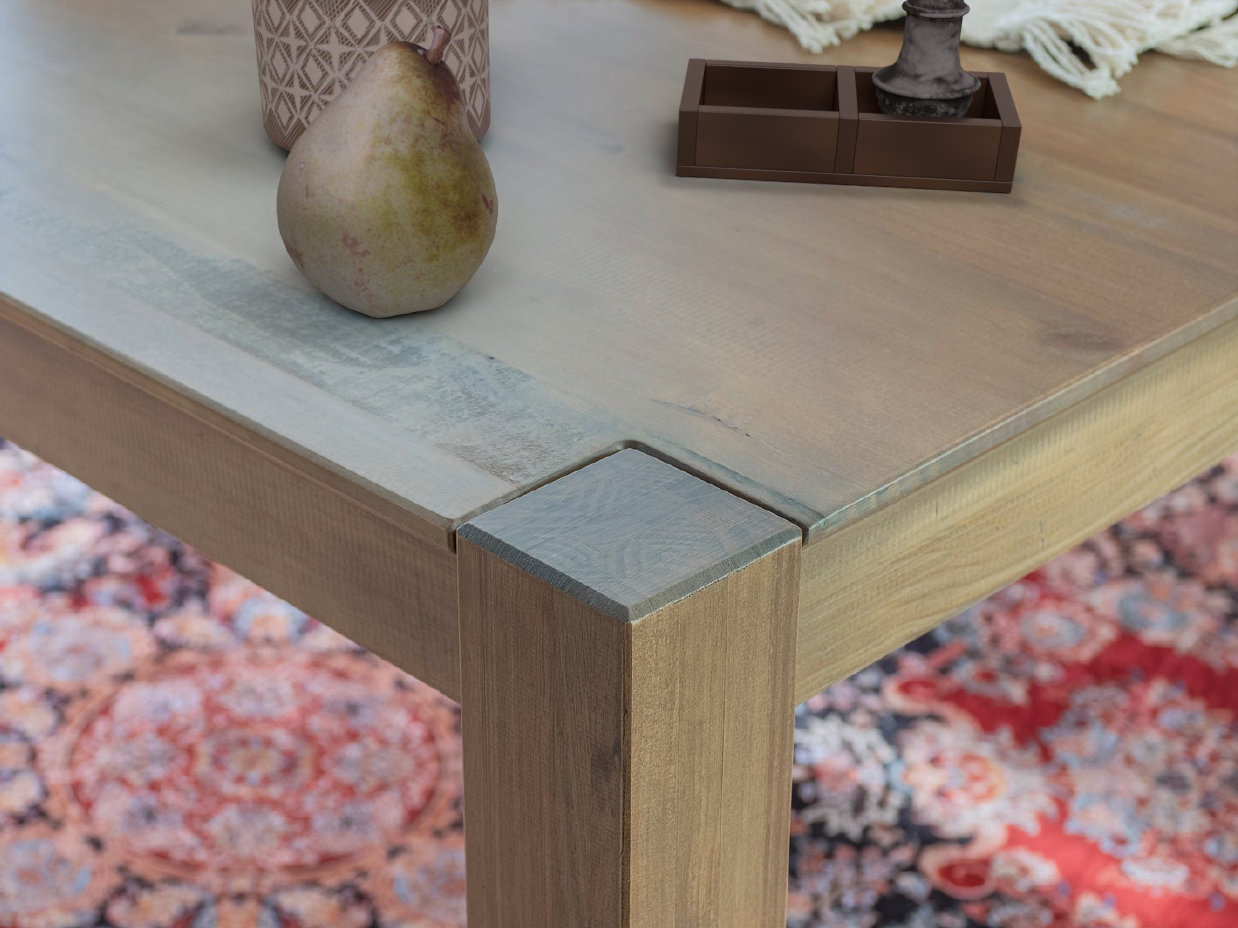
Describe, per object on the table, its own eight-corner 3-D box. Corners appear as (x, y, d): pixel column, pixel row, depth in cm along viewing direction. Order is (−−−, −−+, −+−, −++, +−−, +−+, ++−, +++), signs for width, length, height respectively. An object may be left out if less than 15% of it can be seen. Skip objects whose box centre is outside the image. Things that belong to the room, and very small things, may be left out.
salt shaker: (993, 149, 92) (1030, -82, 85) (915, 169, 89) (947, -68, 82) (919, 120, 96) (948, -103, 89) (843, 138, 93) (867, -91, 86)
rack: (994, 135, 96) (1004, 72, 94) (1011, 193, 89) (1022, 126, 87) (685, 120, 98) (688, 58, 96) (675, 176, 90) (678, 109, 88)
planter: (520, 168, 91) (518, -32, 85) (291, 193, 87) (273, -13, 81) (454, 99, 100) (449, -85, 94) (246, 119, 97) (226, -70, 91)
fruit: (541, 306, 76) (541, 38, 69) (378, 367, 71) (360, 83, 64) (402, 242, 82) (389, -12, 75) (242, 293, 77) (212, 26, 70)
